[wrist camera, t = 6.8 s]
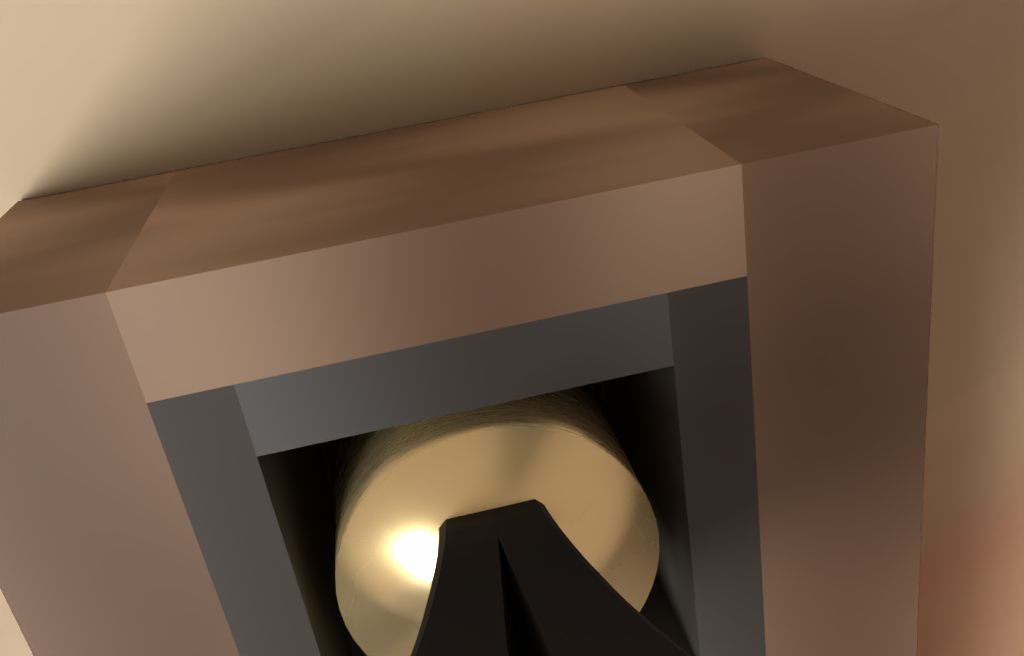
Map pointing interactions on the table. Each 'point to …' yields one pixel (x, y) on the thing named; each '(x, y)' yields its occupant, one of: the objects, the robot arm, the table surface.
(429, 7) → the table surface
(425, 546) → the brass peg
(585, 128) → the peg board
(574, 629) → the robot arm
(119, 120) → the table surface
